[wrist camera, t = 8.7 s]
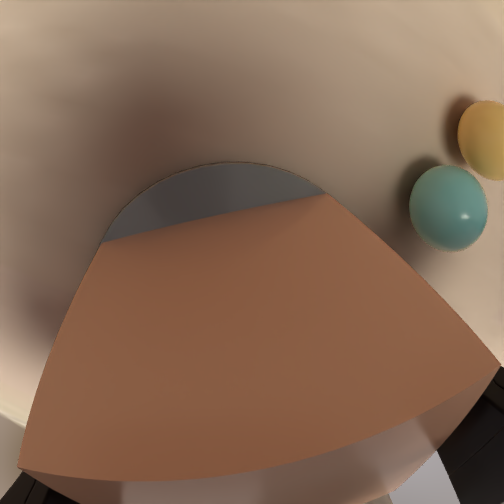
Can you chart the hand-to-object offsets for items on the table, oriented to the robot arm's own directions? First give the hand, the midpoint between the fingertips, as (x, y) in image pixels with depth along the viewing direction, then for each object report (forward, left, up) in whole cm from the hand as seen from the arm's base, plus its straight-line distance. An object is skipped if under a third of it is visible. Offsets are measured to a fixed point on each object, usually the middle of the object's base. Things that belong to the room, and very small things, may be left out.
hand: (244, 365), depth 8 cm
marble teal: (-8, -3, -3) cm, 9 cm away
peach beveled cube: (0, 0, -2) cm, 2 cm away
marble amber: (-10, -5, -3) cm, 12 cm away
